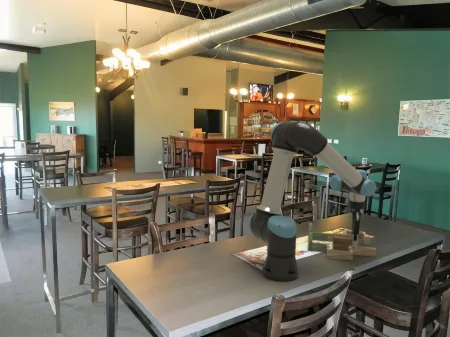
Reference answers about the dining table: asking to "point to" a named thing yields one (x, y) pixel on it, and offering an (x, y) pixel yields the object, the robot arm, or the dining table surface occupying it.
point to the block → (342, 241)
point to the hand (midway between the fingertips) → (354, 245)
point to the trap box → (338, 253)
